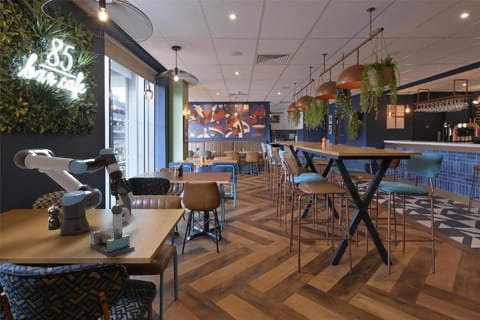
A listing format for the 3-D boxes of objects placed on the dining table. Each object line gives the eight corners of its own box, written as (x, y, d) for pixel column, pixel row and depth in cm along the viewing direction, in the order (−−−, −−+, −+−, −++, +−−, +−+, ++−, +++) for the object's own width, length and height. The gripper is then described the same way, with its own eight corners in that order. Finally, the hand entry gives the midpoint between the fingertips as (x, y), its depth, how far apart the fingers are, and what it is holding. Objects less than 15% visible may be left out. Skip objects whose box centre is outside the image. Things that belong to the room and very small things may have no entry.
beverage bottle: (136, 212, 200) (135, 179, 198) (123, 217, 188) (121, 182, 186) (126, 211, 204) (124, 178, 202) (112, 215, 191) (110, 181, 189)
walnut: (100, 243, 136) (99, 235, 136) (108, 240, 140) (108, 232, 139) (104, 245, 133) (104, 236, 133) (113, 242, 137) (112, 234, 137)
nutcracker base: (90, 246, 136) (89, 232, 135) (111, 240, 145) (110, 226, 144) (112, 257, 123) (111, 241, 122) (134, 249, 132) (133, 234, 131)
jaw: (105, 250, 127) (103, 206, 125) (125, 243, 135) (123, 202, 134) (111, 252, 124) (109, 207, 123) (131, 245, 132) (129, 203, 131)
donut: (119, 225, 170) (119, 209, 169) (115, 224, 171) (114, 209, 170) (131, 220, 179) (130, 206, 178) (127, 220, 180) (126, 205, 179)
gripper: (106, 169, 154) (120, 203, 152) (130, 169, 178) (142, 198, 177) (95, 175, 155) (109, 209, 153) (121, 173, 179) (133, 203, 178)
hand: (127, 203), depth 165 cm, fingers open, 13 cm apart
